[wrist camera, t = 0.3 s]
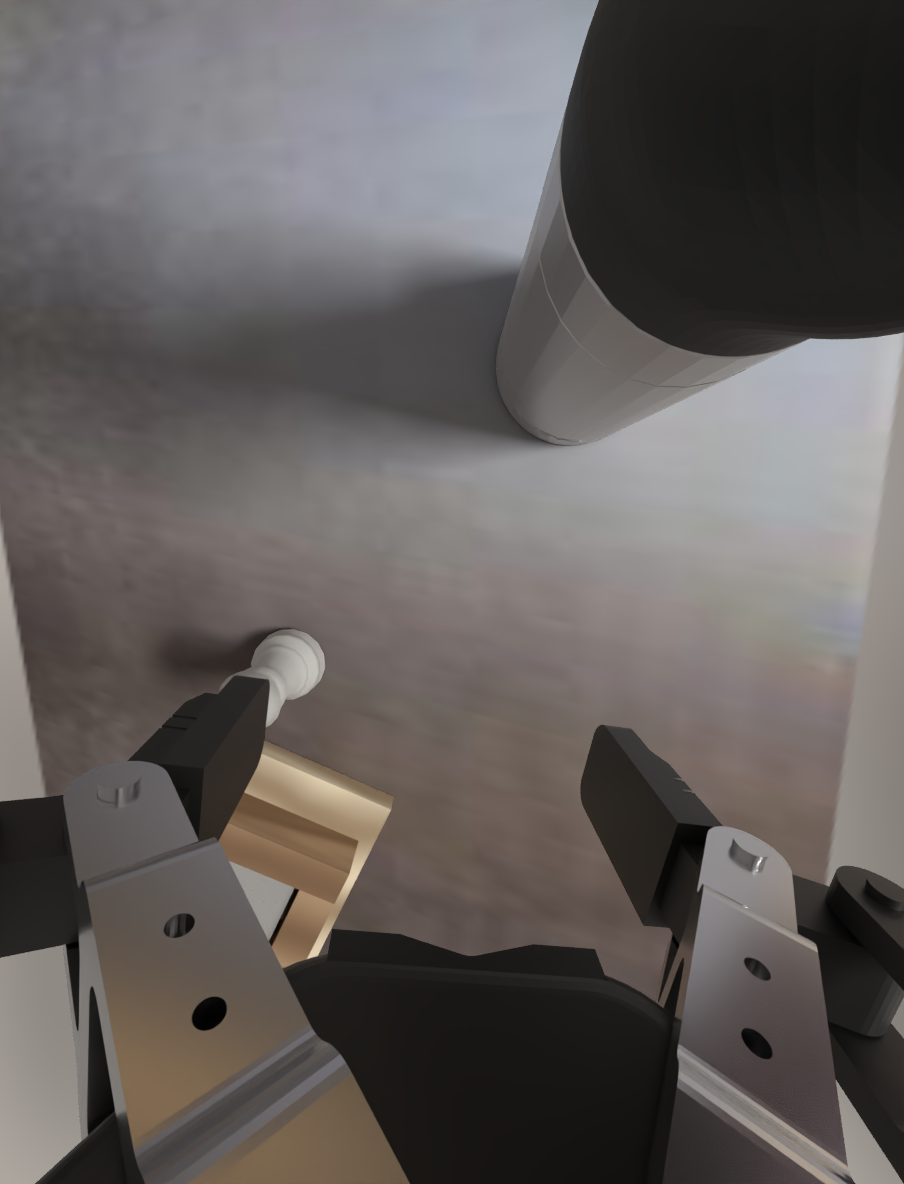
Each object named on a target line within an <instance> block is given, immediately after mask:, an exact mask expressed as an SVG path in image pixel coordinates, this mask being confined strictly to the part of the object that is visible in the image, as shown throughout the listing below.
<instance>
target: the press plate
mask: <svg viewBox="0 0 904 1184" xmlns="http://www.w3.org/2000/svg"><path fill="white" fill-rule="evenodd" d="M229 862H230V864H231V866H232V868H233V870H234V872H235V874H236V876H237V878H238V880H239V882H240V884H241V886H242V888H243V890H244V892H245V895H246V897H247V899H248V901H249V903H250V905H251V907H252V909H253V911H254V913H255V915H256V917H257V919H258V921H259V923H260V925H261V927H262V929H263V931H264V933H265V935H266V937H267V939H268V941H269V940H270V938H271V936H272V934H273V932H274V930H275V928H276V925H277V923H278V921H279V919H280V917H281V915H282V913H283V911H284V909H285V907H286V905H287V903H288V901H289V898H290V896H291V894H292V892H293V890H294V887H291V886H289V885H286V884H284V883H281V882H279V881H277V880H274V879H272V878H269V877H267V876H264V875H262V874H260V873H257V872H255V871H252V870H250V869H248V868H245V867H243V866H240V865H238V864H235V863H233V862H231V861H229Z"/></svg>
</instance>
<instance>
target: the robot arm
mask: <svg viewBox="0 0 904 1184" xmlns="http://www.w3.org/2000/svg"><path fill="white" fill-rule="evenodd" d="M903 332H904V0H599V2H598V5H597V8H596V10H595V13H594V16H593V19H592V22H591V25H590V27H589V30H588V34H587V37H586V40H585V43H584V46H583V50H582V53H581V57H580V60H579V64H578V67H577V71H576V74H575V78H574V81H573V85H572V88H571V92H570V95H569V99H568V104H567V107H566V110H565V113H564V117H563V120H562V124H561V127H560V131H559V134H558V138H557V141H556V145H555V148H554V152H553V155H552V159H551V162H550V166H549V169H548V173H547V176H546V180H545V183H544V187H543V192H542V195H541V199H540V202H539V206H538V209H537V213H536V216H535V220H534V223H533V227H532V230H531V234H530V237H529V240H528V244H527V247H526V251H525V254H524V258H523V261H522V265H521V268H520V272H519V275H518V279H517V282H516V286H515V289H514V293H513V296H512V299H511V303H510V306H509V309H508V313H507V316H506V319H505V323H504V326H503V330H502V334H501V337H500V341H499V345H498V349H497V353H496V377H497V383H498V389H499V391H500V394H501V397H502V399H503V402H504V404H505V406H506V407H507V409H508V411H509V412H510V414H511V415H512V417H513V418H514V419H515V420H516V421H517V422H518V423H519V424H520V425H521V426H522V427H523V428H524V429H525V430H526V431H528V432H529V433H531V434H532V435H534V436H535V437H537V438H539V439H542V440H545V441H547V442H550V443H553V444H560V445H567V446H569V445H582V444H587V443H590V442H593V441H597V440H600V439H602V438H604V437H606V436H608V435H610V434H612V433H614V432H616V431H618V430H621V429H623V428H625V427H627V426H629V425H632V424H634V423H636V422H638V421H640V420H642V419H644V418H646V417H648V416H650V415H652V414H654V413H657V412H659V411H661V410H663V409H665V408H667V407H669V406H671V405H673V404H675V403H677V402H679V401H681V400H684V399H686V398H688V397H690V396H692V395H694V394H696V393H698V392H700V391H702V390H704V389H706V388H709V387H711V386H713V385H715V384H717V383H719V382H721V381H723V380H725V379H727V378H729V377H731V376H734V375H736V374H738V373H740V372H742V371H744V370H746V369H747V368H749V367H751V366H753V365H756V364H758V363H760V362H762V361H764V360H766V359H768V358H770V357H772V356H774V355H776V354H778V353H780V352H782V351H785V350H787V349H789V348H791V347H793V346H795V345H797V344H799V343H801V342H803V341H805V340H807V339H810V338H813V339H858V338H870V337H879V336H885V335H892V334H898V333H903ZM269 692H270V682H269V680H268V679H262V678H255V677H247V676H240V675H235V676H233V677H232V678H231V680H230V681H229V682H228V683H227V684H226V685H225V687H224V688H223V689H222V690H221V691H220V692H219V693H218V694H211V693H204V694H202V695H200V696H198V697H195V698H193V699H191V700H189V701H187V702H185V703H184V704H183V705H182V706H181V707H180V708H179V709H178V710H177V711H176V712H175V713H174V714H173V716H172V718H169V719H168V720H167V721H166V722H165V723H164V724H163V725H162V728H159V729H158V731H157V732H156V733H155V734H154V735H153V736H152V737H151V738H150V739H149V740H148V741H147V742H146V743H145V744H144V745H143V746H142V747H141V748H140V749H139V750H138V751H137V752H136V753H135V754H134V755H133V756H132V757H131V758H130V759H129V760H128V761H124V762H116V763H111V764H107V765H103V766H100V767H97V768H95V769H92V770H90V771H88V772H86V773H84V774H82V775H81V776H79V777H78V778H76V779H75V780H74V781H73V782H72V783H71V784H70V785H69V786H68V787H67V789H66V790H65V793H64V795H60V796H53V797H44V798H34V799H23V800H14V801H13V800H12V801H2V802H0V958H1V957H5V956H10V955H15V954H20V953H25V952H30V951H35V950H40V949H45V948H49V947H55V946H60V945H63V955H64V962H65V971H66V979H67V988H68V996H69V1004H70V1012H71V1020H72V1029H73V1037H74V1045H75V1054H76V1064H77V1079H78V1102H79V1117H80V1129H81V1139H82V1141H81V1142H80V1143H79V1144H78V1145H77V1146H76V1147H75V1148H74V1149H73V1150H71V1151H70V1152H69V1153H68V1154H67V1155H66V1156H65V1157H64V1158H63V1159H62V1160H61V1161H59V1163H57V1164H56V1165H55V1166H54V1167H53V1168H52V1169H51V1170H50V1171H49V1172H47V1173H46V1174H45V1175H44V1176H43V1177H42V1178H41V1179H40V1180H39V1181H38V1182H36V1183H35V1184H855V1183H854V1181H853V1180H852V1178H851V1175H850V1172H849V1169H848V1164H847V1158H846V1151H845V1144H844V1137H843V1129H842V1122H841V1115H840V1108H839V1100H838V1093H837V1086H836V1080H837V1082H838V1083H839V1085H840V1086H841V1088H842V1089H843V1090H844V1092H845V1094H846V1095H847V1097H848V1099H849V1100H850V1102H851V1103H852V1105H853V1106H854V1108H855V1109H856V1111H857V1112H858V1114H859V1115H860V1117H861V1119H862V1120H863V1122H864V1123H865V1125H866V1126H867V1128H868V1129H869V1131H870V1132H871V1134H872V1135H873V1137H874V1138H875V1140H876V1142H877V1143H878V1145H879V1146H880V1148H881V1149H882V1151H883V1152H884V1154H885V1155H886V1157H887V1158H888V1160H889V1161H890V1163H891V1165H892V1166H893V1167H894V1169H895V1171H896V1172H897V1173H898V1175H899V1177H900V1178H901V1180H902V1182H903V1183H904V1039H903V1037H902V1036H901V1035H900V1034H899V1032H898V1031H897V1030H896V1029H895V1028H894V1026H893V1025H892V1024H891V1021H892V1019H893V1017H894V1015H895V1013H896V1011H897V1009H898V1007H899V1005H900V1003H901V1002H902V999H903V998H904V889H903V888H901V887H900V886H898V885H897V884H895V883H893V882H891V881H890V880H888V879H886V878H884V877H882V876H880V875H877V874H875V873H873V872H870V871H868V870H865V869H861V868H858V867H854V866H842V867H839V868H838V869H837V870H836V873H835V875H834V877H833V880H832V882H831V884H830V887H829V886H826V885H823V884H820V883H817V882H814V881H810V880H807V879H804V878H801V877H798V876H795V875H792V871H791V869H790V867H789V865H788V863H787V862H786V861H785V859H784V858H783V857H782V856H781V855H780V854H779V853H778V852H777V851H775V850H774V849H773V848H772V847H770V846H769V845H768V844H766V843H765V842H763V841H762V840H760V839H758V838H756V837H754V836H752V835H750V834H748V833H746V832H744V831H741V830H738V829H735V828H731V827H725V826H722V824H721V823H720V822H719V821H718V820H717V819H716V818H715V816H714V815H713V814H712V813H711V812H710V811H709V810H708V808H707V807H706V806H705V805H704V804H703V803H702V801H701V800H700V799H699V798H698V797H697V796H696V795H695V793H692V790H691V789H690V788H689V787H688V785H687V784H686V783H685V782H684V781H681V777H680V776H679V775H678V774H677V773H676V772H675V770H674V769H673V768H672V767H671V766H670V765H669V764H668V763H667V762H665V761H664V760H662V759H661V758H660V757H658V756H657V755H655V754H654V753H653V752H651V751H650V750H649V749H648V748H647V747H646V745H645V744H644V743H643V742H642V741H641V739H640V738H639V737H638V736H637V735H636V733H635V732H634V731H633V730H632V729H629V728H621V727H614V726H606V725H600V726H599V727H598V728H597V729H596V731H595V733H594V736H593V740H592V744H591V747H590V751H589V754H588V758H587V762H586V765H585V769H584V772H583V776H582V780H581V800H582V804H583V807H584V809H585V811H586V813H587V815H588V817H589V819H590V821H591V823H592V825H593V827H594V829H595V831H596V833H597V835H598V837H599V839H600V841H601V843H602V845H603V847H604V849H605V851H606V852H607V854H608V856H609V858H610V860H611V862H612V864H613V866H614V868H615V870H616V872H617V874H618V876H619V878H620V880H621V882H622V884H623V886H624V888H625V890H626V892H627V894H628V896H629V898H630V900H631V902H632V904H633V906H634V908H635V910H636V912H637V914H638V916H639V918H640V920H641V922H642V924H643V926H655V927H667V928H670V929H671V931H672V935H671V938H670V941H669V943H668V946H667V949H666V954H665V958H664V963H663V967H662V971H661V976H660V980H659V985H658V989H657V993H656V998H655V1002H654V1001H653V1000H651V999H650V998H649V997H647V996H646V995H644V994H643V993H641V992H639V991H637V990H636V989H634V988H632V987H630V986H629V985H627V984H625V983H622V982H620V981H618V980H616V979H613V978H611V977H608V976H605V975H604V972H603V970H602V967H601V964H600V962H599V959H598V956H597V954H596V951H595V949H586V948H573V947H560V946H547V945H534V944H533V945H528V946H523V947H518V948H513V949H508V950H503V951H498V952H493V953H488V954H483V955H478V956H466V955H462V954H459V953H456V952H453V951H450V950H447V949H444V948H441V947H438V946H434V945H431V944H428V943H425V942H422V941H419V940H416V939H413V938H410V937H407V936H404V935H401V934H391V933H378V932H365V931H352V930H338V929H332V934H331V940H330V945H329V951H328V954H326V955H321V956H316V957H312V958H309V959H306V960H302V961H299V962H296V963H294V964H292V965H289V966H287V967H285V968H283V969H282V967H281V965H280V963H279V961H278V959H277V957H276V955H275V953H274V951H273V949H272V947H271V945H270V943H269V941H268V939H267V937H266V935H265V933H264V931H263V929H262V927H261V925H260V923H259V921H258V919H257V917H256V915H255V913H254V911H253V909H252V907H251V905H250V903H249V901H248V899H247V897H246V895H245V892H244V890H243V888H242V886H241V884H240V882H239V880H238V878H237V876H236V874H235V872H234V870H233V868H232V866H231V864H230V862H229V860H228V858H227V856H226V854H225V852H224V850H223V848H222V846H221V844H220V843H219V839H220V837H221V835H222V834H223V832H224V830H225V828H226V826H227V824H228V822H229V820H230V818H231V816H232V815H233V813H234V811H235V809H236V807H237V805H238V803H239V801H240V799H241V797H242V795H243V794H244V792H245V790H246V788H247V786H248V784H249V782H250V780H251V778H252V776H253V775H254V773H255V771H256V769H257V766H258V764H259V761H260V758H261V754H262V750H263V745H264V738H265V729H266V720H267V711H268V701H269Z"/></svg>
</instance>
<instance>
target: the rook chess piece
mask: <svg viewBox="0 0 904 1184" xmlns="http://www.w3.org/2000/svg"><path fill="white" fill-rule="evenodd" d="M324 669H325V662H324V654H323V652H322V650H321V648H320V646H319V644H318V643H317V642H316V641H315V640H314V639H313V638H312V637H310V636H309V635H308V634H307V633H304V632H301V631H298V630H295V629H285V630H279V631H277V632H274V633H272V634H270V635H268V636H267V638H266V639H264V640H263V641H262V643H261V644H260V645H259V646H258V647H257V648H256V649H255V652H254V655H253V659H252V662H251V668H248V669H246V670H244V671H240V672H238V673H235V674H233V675H231V676H229V677H228V678H227V679H226V680H225V681H224V682H223V684H222V685H221V687H220V690H219V692H220V691H221V690H222V689H223V688H224V687H225V685H226V684H227V683H228V682H229V681H230V680H231V678H232V677H233V676H235V675H240V676H247V677H255V678H262V679H268V680H269V682H270V692H269V701H268V711H267V720H266V727H268V726H270V725H271V724H272V723H273V722H274V721H275V720H276V718H277V717H278V715H279V712H280V709H281V706H282V705H283V704H284V701H285V700H288V699H296V698H298V697H300V696H303V695H305V694H307V693H308V692H309V691H310V690H311V689H313V688H314V687H315V686H316V684H317V683H318V682H319V681H320V680H321V678H322V675H323V672H324Z"/></svg>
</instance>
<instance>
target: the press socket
mask: <svg viewBox="0 0 904 1184" xmlns="http://www.w3.org/2000/svg"><path fill="white" fill-rule="evenodd" d="M392 802H393V796H391V795H389V794H387V793H384V792H382V791H380V790H377V789H375V788H373V787H370V786H368V785H366V784H364V783H361V782H359V781H357V780H354V779H352V778H350V777H347V776H345V775H343V774H341V773H338V772H336V771H334V770H331V769H329V768H327V767H324V766H322V765H320V764H318V763H315V762H313V761H311V760H308V759H306V758H304V757H301V756H299V755H297V754H295V753H292V752H290V751H288V750H285V749H283V748H281V747H279V746H276V745H274V744H272V743H269V742H267V741H265V740H264V745H263V750H262V754H261V758H260V761H259V764H258V766H257V769H256V771H255V773H254V775H253V776H252V778H251V780H250V782H249V784H248V786H247V788H246V790H245V792H244V794H243V795H242V797H241V799H240V801H239V803H238V805H237V807H236V809H235V811H234V813H233V815H232V816H231V818H230V820H229V822H228V824H227V826H226V828H225V830H224V832H223V834H222V835H221V837H220V839H219V843H220V844H221V846H222V848H223V850H224V852H225V854H226V856H227V858H228V860H229V861H231V862H233V863H235V864H238V865H240V866H243V867H245V868H248V869H250V870H252V871H255V872H257V873H260V874H262V875H264V876H267V877H269V878H272V879H274V880H277V881H279V882H281V883H284V884H286V885H289V886H291V887H294V890H293V892H292V894H291V896H290V898H289V901H288V903H287V905H286V907H285V909H284V911H283V913H282V915H281V917H280V919H279V921H278V923H277V925H276V928H275V930H274V932H273V934H272V936H271V938H270V940H269V943H270V945H271V947H272V949H273V951H274V953H275V955H276V957H277V959H278V961H279V963H280V965H281V967H282V969H283V968H285V967H287V966H289V965H292V964H294V963H296V962H299V961H302V960H306V959H309V958H312V957H316V956H318V954H319V952H320V950H321V948H322V946H323V944H324V942H325V940H326V938H327V936H328V934H329V932H330V930H331V928H332V926H333V924H334V922H335V920H336V918H337V916H338V914H339V912H340V910H341V908H342V906H343V904H344V902H345V900H346V898H347V896H348V894H349V892H350V890H351V888H352V886H353V884H354V882H355V880H356V878H357V876H358V874H359V872H360V870H361V868H362V867H363V865H364V863H365V861H366V859H367V857H368V855H369V853H370V851H371V849H372V847H373V845H374V843H375V841H376V839H377V837H378V835H379V833H380V831H381V829H382V827H383V825H384V823H385V821H386V819H387V817H388V815H389V813H390V811H391V807H392Z"/></svg>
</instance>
